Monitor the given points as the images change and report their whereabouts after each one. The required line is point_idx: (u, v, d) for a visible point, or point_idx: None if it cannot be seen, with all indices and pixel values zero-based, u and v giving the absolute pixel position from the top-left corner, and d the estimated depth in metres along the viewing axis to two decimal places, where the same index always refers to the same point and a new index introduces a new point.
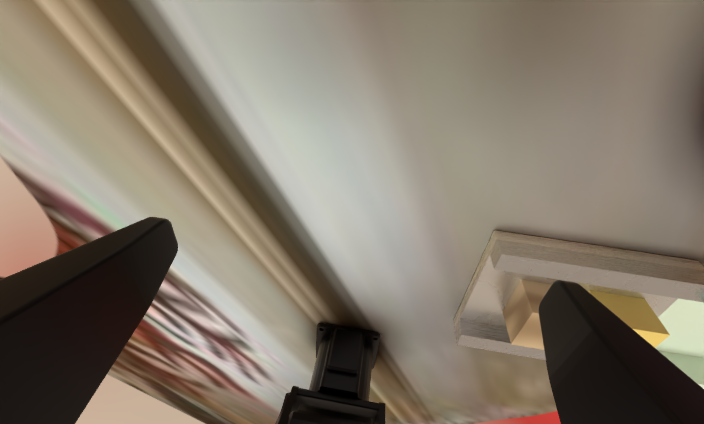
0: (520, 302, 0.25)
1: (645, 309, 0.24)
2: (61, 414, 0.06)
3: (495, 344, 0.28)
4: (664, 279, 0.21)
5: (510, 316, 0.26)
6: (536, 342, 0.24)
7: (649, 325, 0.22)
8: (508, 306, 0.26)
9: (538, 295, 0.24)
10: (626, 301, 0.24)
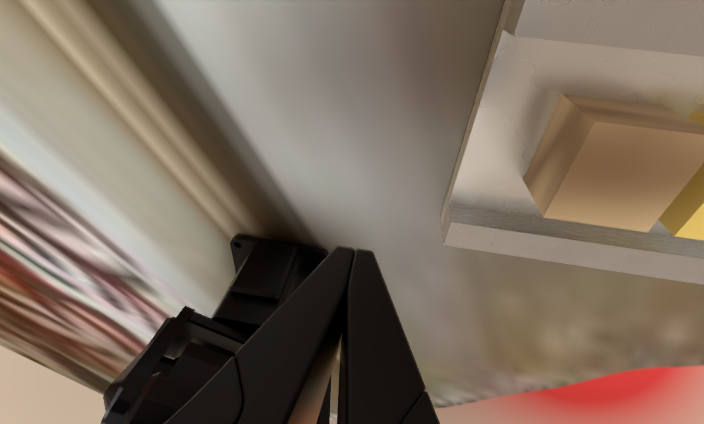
0: (561, 131, 0.13)
1: None
2: None
3: (511, 240, 0.16)
4: None
5: (540, 173, 0.14)
6: (594, 207, 0.13)
7: None
8: (535, 161, 0.15)
9: (599, 107, 0.12)
10: None
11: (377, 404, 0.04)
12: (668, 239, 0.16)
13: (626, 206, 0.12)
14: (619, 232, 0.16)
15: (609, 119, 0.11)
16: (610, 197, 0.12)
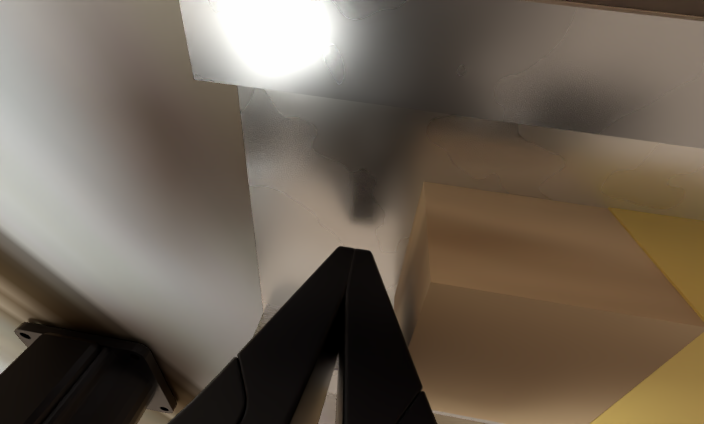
0: (415, 256, 0.07)
1: None
2: None
3: None
4: None
5: (399, 309, 0.08)
6: (472, 399, 0.07)
7: None
8: (401, 279, 0.09)
9: (471, 222, 0.06)
10: None
11: (374, 403, 0.04)
12: None
13: (527, 402, 0.07)
14: None
15: (471, 267, 0.05)
16: (496, 390, 0.06)
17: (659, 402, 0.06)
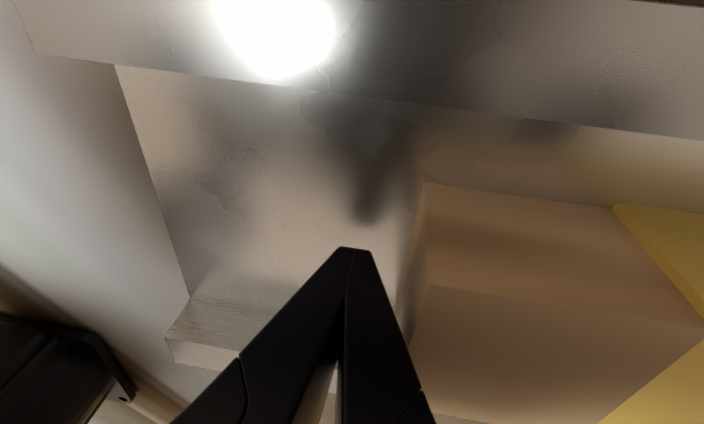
0: (415, 257, 0.07)
1: None
2: None
3: None
4: None
5: (400, 310, 0.08)
6: (472, 401, 0.07)
7: None
8: (401, 280, 0.09)
9: (472, 223, 0.06)
10: None
11: (373, 403, 0.04)
12: None
13: (529, 405, 0.07)
14: None
15: (470, 269, 0.05)
16: (497, 392, 0.06)
17: (669, 402, 0.06)
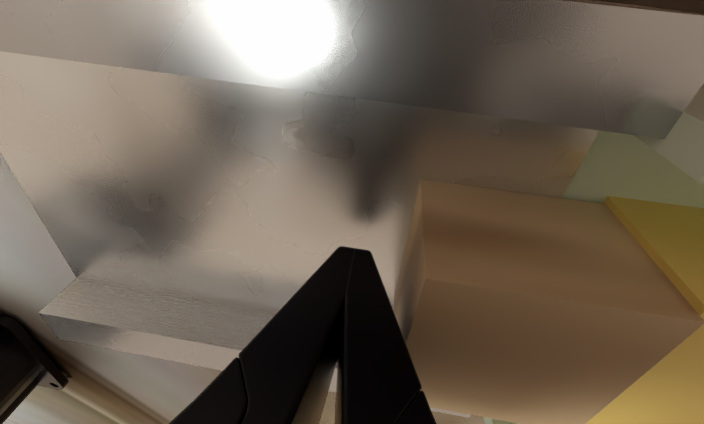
0: (412, 254, 0.07)
1: None
2: None
3: (134, 340, 0.11)
4: None
5: (398, 307, 0.08)
6: (470, 396, 0.07)
7: None
8: (399, 277, 0.09)
9: (467, 219, 0.06)
10: None
11: (373, 403, 0.04)
12: None
13: (526, 399, 0.07)
14: None
15: (466, 264, 0.05)
16: (494, 386, 0.06)
17: (659, 390, 0.06)
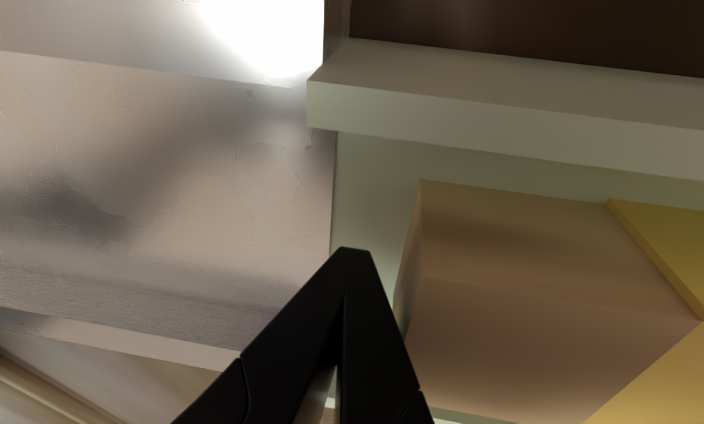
0: (411, 253, 0.07)
1: None
2: None
3: None
4: None
5: (397, 306, 0.08)
6: (468, 394, 0.07)
7: None
8: (399, 276, 0.09)
9: (467, 219, 0.06)
10: None
11: (372, 403, 0.04)
12: (223, 312, 0.11)
13: (524, 398, 0.07)
14: (159, 300, 0.11)
15: (464, 263, 0.05)
16: (492, 386, 0.06)
17: (660, 395, 0.06)
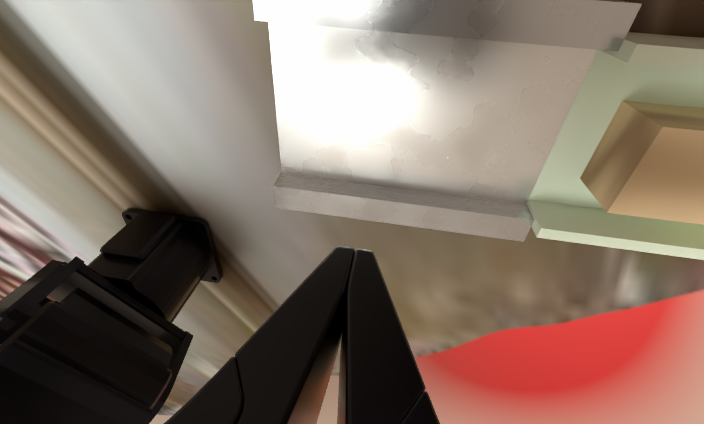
0: (624, 135, 0.14)
1: None
2: None
3: (326, 201, 0.18)
4: None
5: (601, 172, 0.15)
6: (655, 202, 0.14)
7: None
8: (593, 161, 0.16)
9: (660, 113, 0.13)
10: None
11: (377, 404, 0.04)
12: (465, 198, 0.18)
13: (685, 201, 0.14)
14: (423, 193, 0.18)
15: (674, 124, 0.12)
16: (671, 193, 0.14)
17: None
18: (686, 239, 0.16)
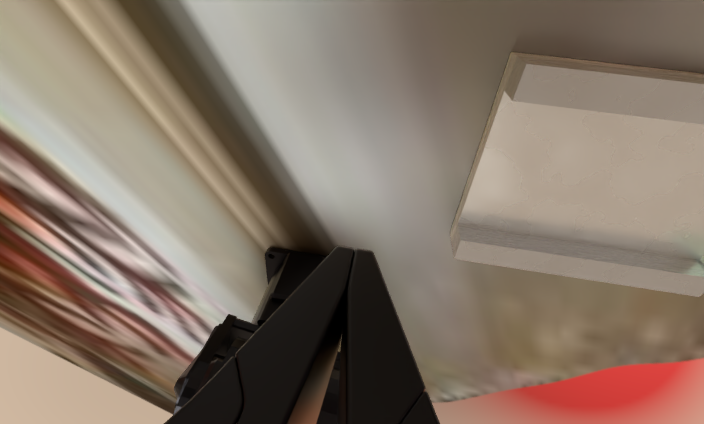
0: None
1: None
2: None
3: (511, 255, 0.19)
4: None
5: None
6: None
7: None
8: None
9: None
10: None
11: (377, 404, 0.04)
12: (642, 254, 0.19)
13: None
14: (601, 248, 0.19)
15: None
16: None
17: None
18: None
